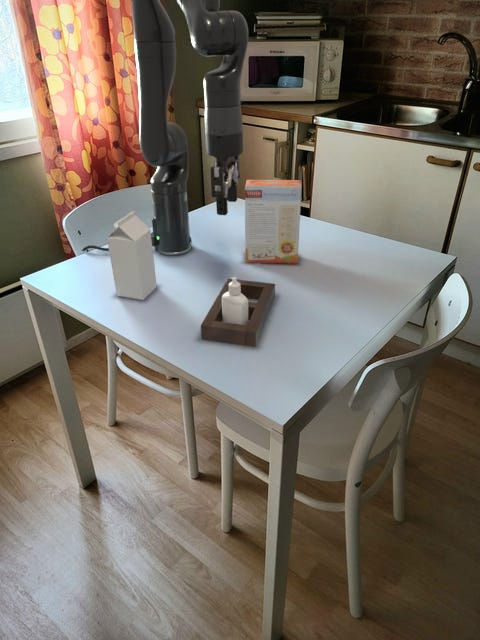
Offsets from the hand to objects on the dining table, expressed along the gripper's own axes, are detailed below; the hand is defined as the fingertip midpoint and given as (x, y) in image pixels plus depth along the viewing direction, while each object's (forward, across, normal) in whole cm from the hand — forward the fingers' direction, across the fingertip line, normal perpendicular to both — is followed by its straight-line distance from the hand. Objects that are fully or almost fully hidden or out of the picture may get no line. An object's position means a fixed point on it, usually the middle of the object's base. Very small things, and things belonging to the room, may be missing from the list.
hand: (227, 207), depth 105 cm
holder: (+21, +11, +5) cm, 24 cm away
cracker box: (+21, -19, +6) cm, 29 cm away
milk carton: (+20, +6, -22) cm, 30 cm away
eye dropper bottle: (+21, +16, +5) cm, 27 cm away
